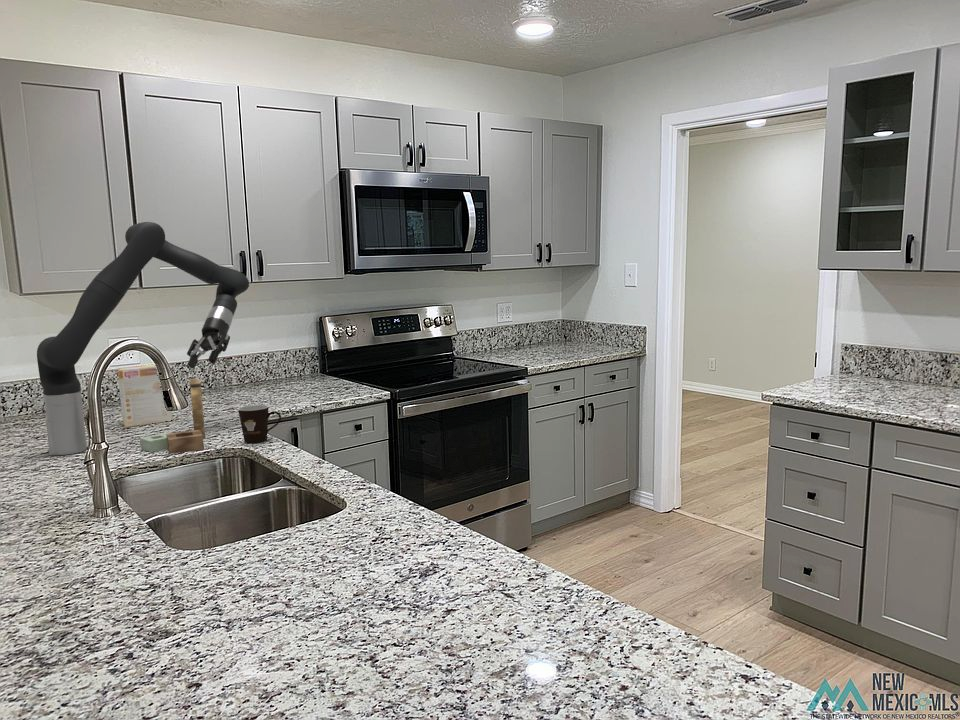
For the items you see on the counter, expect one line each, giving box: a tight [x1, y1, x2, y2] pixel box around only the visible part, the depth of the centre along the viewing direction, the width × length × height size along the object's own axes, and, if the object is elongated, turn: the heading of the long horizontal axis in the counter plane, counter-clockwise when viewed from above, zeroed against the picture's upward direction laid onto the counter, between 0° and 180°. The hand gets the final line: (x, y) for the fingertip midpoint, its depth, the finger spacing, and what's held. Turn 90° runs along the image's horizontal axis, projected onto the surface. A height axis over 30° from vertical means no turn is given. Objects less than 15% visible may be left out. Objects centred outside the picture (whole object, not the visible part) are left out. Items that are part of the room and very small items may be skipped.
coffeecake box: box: [117, 364, 174, 428], centre depth 243 cm, size 15×7×20 cm, turn 123°
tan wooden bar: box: [189, 378, 206, 440], centre depth 216 cm, size 3×3×18 cm
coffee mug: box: [237, 404, 282, 445], centre depth 210 cm, size 12×9×10 cm
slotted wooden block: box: [165, 429, 205, 455], centre depth 205 cm, size 9×9×4 cm
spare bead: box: [139, 432, 168, 453], centre depth 207 cm, size 7×7×3 cm
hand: (200, 364), depth 220 cm, fingers open, 8 cm apart
